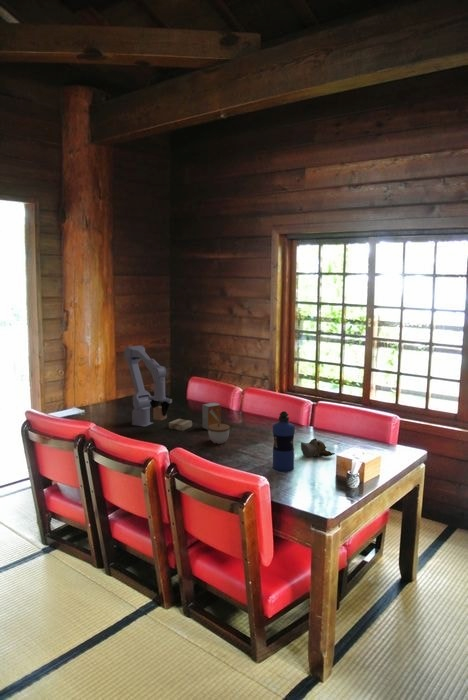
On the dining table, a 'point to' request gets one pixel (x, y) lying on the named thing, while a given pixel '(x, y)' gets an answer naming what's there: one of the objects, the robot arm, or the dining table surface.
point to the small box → (211, 414)
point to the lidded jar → (218, 432)
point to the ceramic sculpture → (315, 449)
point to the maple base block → (180, 424)
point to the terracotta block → (158, 413)
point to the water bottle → (283, 444)
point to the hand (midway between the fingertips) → (160, 414)
